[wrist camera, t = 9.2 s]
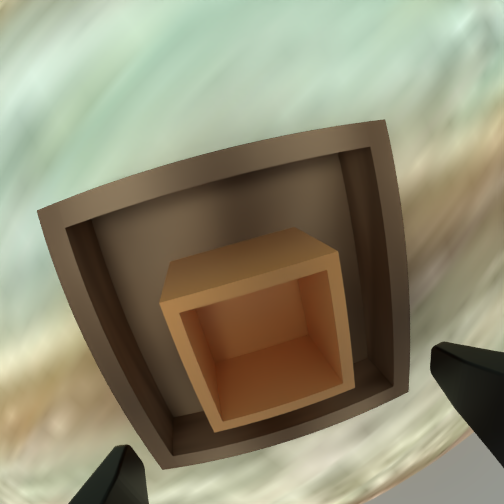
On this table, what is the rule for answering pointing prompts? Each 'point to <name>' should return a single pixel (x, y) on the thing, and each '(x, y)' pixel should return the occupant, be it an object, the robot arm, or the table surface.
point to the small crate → (260, 326)
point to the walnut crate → (222, 234)
